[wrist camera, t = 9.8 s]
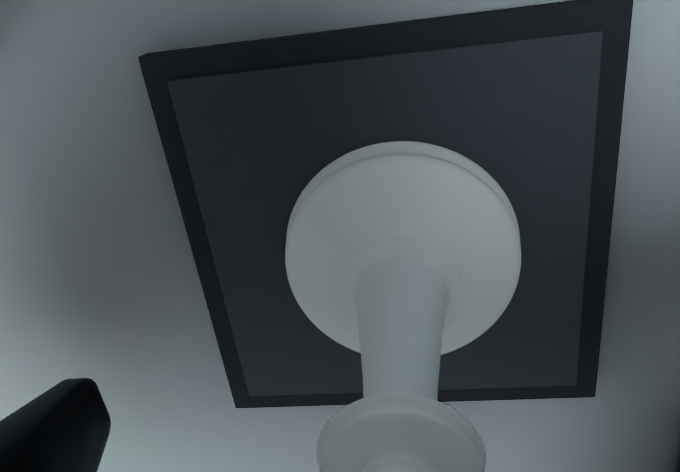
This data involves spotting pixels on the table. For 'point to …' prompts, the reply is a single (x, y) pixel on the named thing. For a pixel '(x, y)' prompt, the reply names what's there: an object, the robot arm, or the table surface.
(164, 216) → the table surface
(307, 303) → the chess piece
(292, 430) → the table surface
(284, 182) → the charcoal mat
